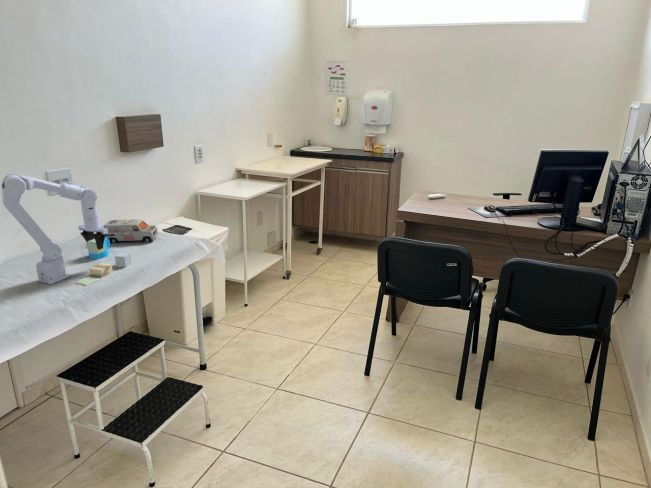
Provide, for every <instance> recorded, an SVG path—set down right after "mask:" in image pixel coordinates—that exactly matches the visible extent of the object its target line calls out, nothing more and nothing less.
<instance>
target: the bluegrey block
mask: <svg viewBox="0 0 651 488" xmlns="http://www.w3.org/2000/svg"><path fill="white" fill-rule="evenodd" d="M114 261H115V267H116V268H128V267H129V266H130V265H132V259H131V253H129V252H120V253H117V254H116V255H114Z"/></svg>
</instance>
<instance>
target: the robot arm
mask: <svg viewBox="0 0 651 488" xmlns="http://www.w3.org/2000/svg"><path fill="white" fill-rule="evenodd" d="M0 187H1V195H2V204H3V206H4V207H5V208H6V210H7V211H8V212H9V213H10V214H11V215H12V216H13V218H15V220H16V221H17V222H18V223H19V224H20V226H21V227H22V228H23V229H24V230H25V231H26V233H28V235H29V236H30V237H31V239H33V241H35V242H36V244H37V245H38V246H39V249H40V250H39V251H40V252H41V253H42V254H43V255H42V257H41V260H40V261H38V263H36V264H35V265H36V266H35V268H36V272H37V277H38V279H37V282H40V283H44V284H48V285H53V284H56V283H57V282H61V281H63V280H65V279H68V278H70V277H72V274H69V273H67V272H66V267H65V266H66V265H65V262H64V258H63V252H62V251H63V250H62V248H61V247H60V246H59V244H58V243H57V242H56V241H55V240H54V239H51V238H50V237H49V236H48V235H47V234H46V233H45V232H44V231H43V229H42V228H41V227H40V226H39V225H38V223H37V222H36V221H35V219H33V217H32V216H31V215H30V214H29V213H28V212H27V210H26V209H25V208H24V207H23V206H22V205H21V204H20V201H21V197H22V195H24V193H25V191H26V190H27V191H31V190H34V189H38V190H44V191H49V192H54V193H58V195H59V196H60V197H62V198H65V199H70V200H74V201H80V204H81V213H82V218H83V223H84V224H80V225H77V227H78V231H81V232H80V235H81V236H82V238H83V239H84V240H85V243H87V241H90V240H93V239H95V241H96V244H97V248H98V250H100V249H103V244H104V239H105V236H106V234H107V233H108V229H106V228H104V227H103V226H102V224H101V223H100V218H99V212H98V206H97V199H98V195H97V193H96V192H95V191H94V190H93V189H91V188H89V187H87V186H83V185H81V186H80V185H75V184H72V182H69V181H67V182H63V183H60V184H59V183H55V182H52V181H51V182H50V181H47V180H44V179H40V178H37V177H34V176H28V175H23V174H22V175H21V174H20V175H19V174H16V173H10V174H7V175H6V176H4V178H3V180H2V183H1V186H0Z"/></svg>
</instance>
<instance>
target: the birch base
mask: <svg viewBox="0 0 651 488" xmlns="http://www.w3.org/2000/svg"><path fill="white" fill-rule="evenodd" d="M113 271H114V270H113V265H112V264H110V263H109V264H108V263H101V262H100V263H98V264H95V265H94V266H92V267H90V268H89V275H90V277H95V278H104V277H106V276H108V275H109V274H111V273H113Z"/></svg>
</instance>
